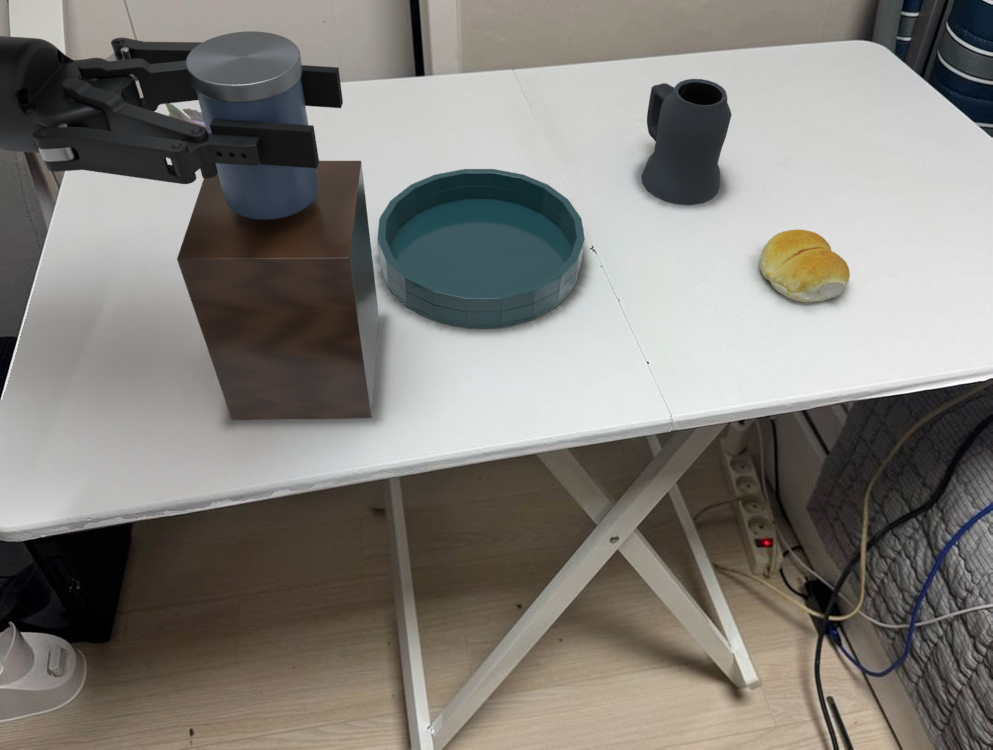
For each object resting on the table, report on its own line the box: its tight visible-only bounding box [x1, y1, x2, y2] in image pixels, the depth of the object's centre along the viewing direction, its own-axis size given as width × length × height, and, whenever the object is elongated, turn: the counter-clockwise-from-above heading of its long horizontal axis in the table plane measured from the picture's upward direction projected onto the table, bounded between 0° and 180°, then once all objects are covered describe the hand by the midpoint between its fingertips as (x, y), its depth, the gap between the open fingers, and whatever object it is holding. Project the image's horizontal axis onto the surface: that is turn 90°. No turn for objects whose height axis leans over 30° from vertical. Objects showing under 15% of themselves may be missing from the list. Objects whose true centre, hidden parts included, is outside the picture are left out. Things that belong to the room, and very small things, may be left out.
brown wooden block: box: [176, 160, 380, 421], centre depth 69 cm, size 12×12×18 cm
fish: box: [165, 103, 206, 128], centre depth 96 cm, size 3×14×5 cm, turn 63°
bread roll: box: [758, 229, 851, 303], centre depth 84 cm, size 8×9×4 cm
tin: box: [186, 30, 318, 220], centre depth 57 cm, size 7×7×10 cm
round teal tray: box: [376, 168, 586, 330], centre depth 85 cm, size 21×21×4 cm
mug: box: [640, 78, 733, 206], centre depth 93 cm, size 12×9×11 cm
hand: (327, 116), depth 56 cm, fingers closed on tin, 7 cm apart
